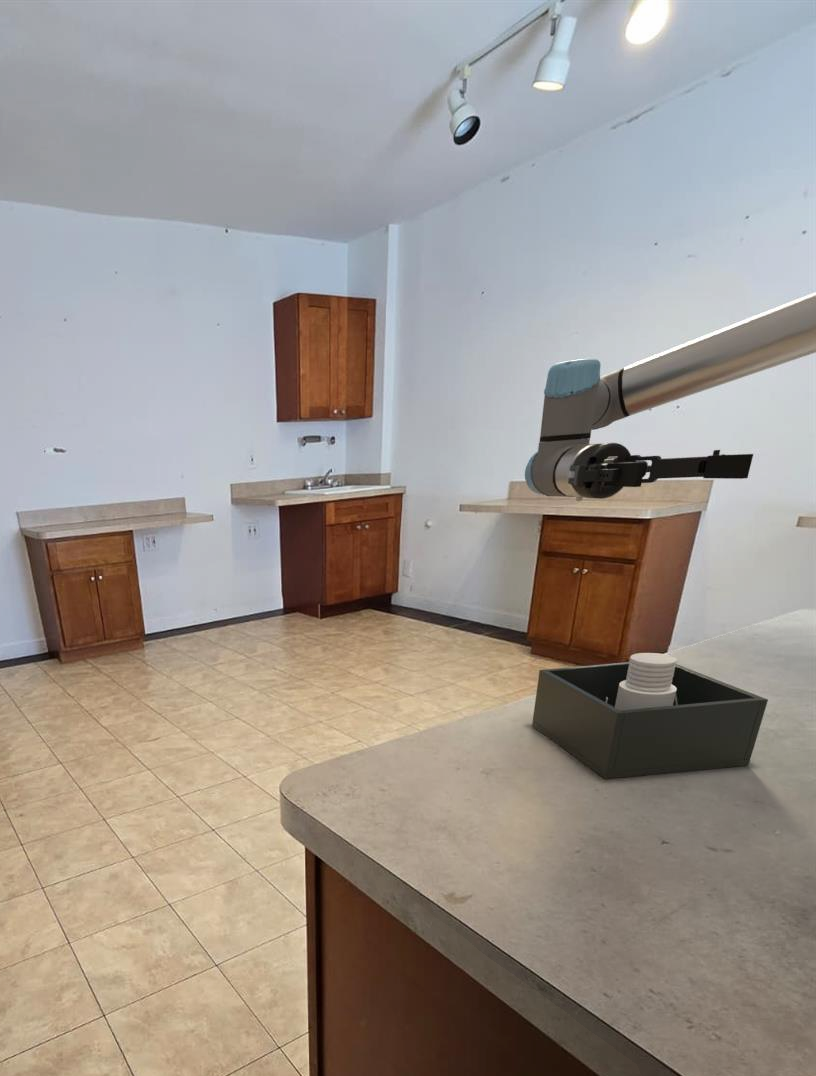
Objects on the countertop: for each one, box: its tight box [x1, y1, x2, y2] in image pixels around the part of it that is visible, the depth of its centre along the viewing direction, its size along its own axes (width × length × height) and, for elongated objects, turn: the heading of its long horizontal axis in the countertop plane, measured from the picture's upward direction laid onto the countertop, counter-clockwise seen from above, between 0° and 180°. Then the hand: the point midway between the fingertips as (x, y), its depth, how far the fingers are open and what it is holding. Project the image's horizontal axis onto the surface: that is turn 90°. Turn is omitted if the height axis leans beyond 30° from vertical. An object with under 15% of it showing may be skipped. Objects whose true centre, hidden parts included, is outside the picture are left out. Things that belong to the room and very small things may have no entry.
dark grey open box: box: [531, 661, 769, 780], centre depth 77 cm, size 17×17×8 cm
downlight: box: [606, 652, 678, 711], centre depth 76 cm, size 8×7×10 cm
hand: (694, 470), depth 78 cm, fingers open, 13 cm apart
